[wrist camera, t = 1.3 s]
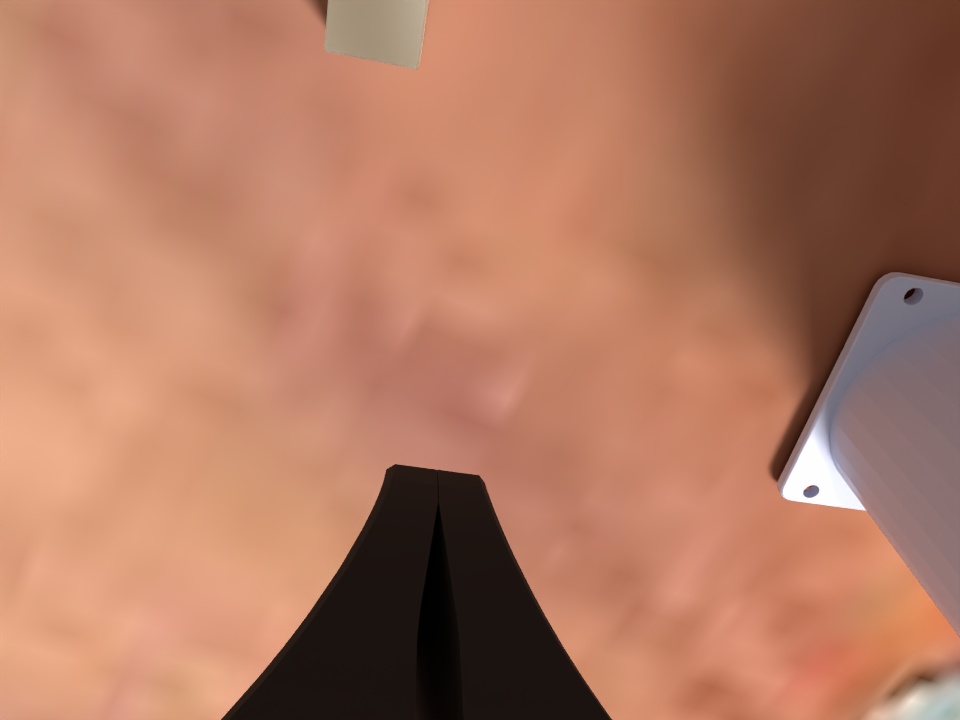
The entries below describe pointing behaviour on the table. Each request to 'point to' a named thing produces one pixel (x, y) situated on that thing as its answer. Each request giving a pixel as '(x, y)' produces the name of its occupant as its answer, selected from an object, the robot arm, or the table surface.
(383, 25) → the stop rail
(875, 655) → the table surface
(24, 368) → the table surface
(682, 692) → the table surface
